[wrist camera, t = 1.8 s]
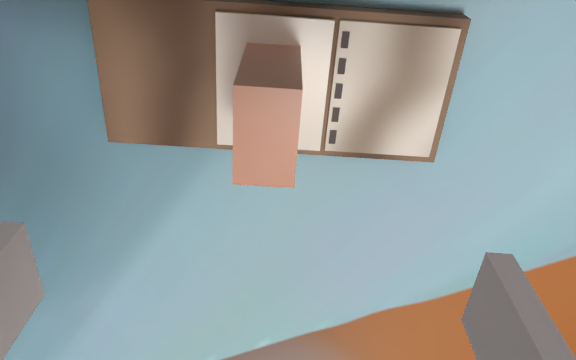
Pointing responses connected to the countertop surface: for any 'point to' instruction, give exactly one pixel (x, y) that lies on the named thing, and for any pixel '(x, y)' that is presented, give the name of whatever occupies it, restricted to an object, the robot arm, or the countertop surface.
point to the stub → (270, 92)
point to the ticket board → (341, 81)
